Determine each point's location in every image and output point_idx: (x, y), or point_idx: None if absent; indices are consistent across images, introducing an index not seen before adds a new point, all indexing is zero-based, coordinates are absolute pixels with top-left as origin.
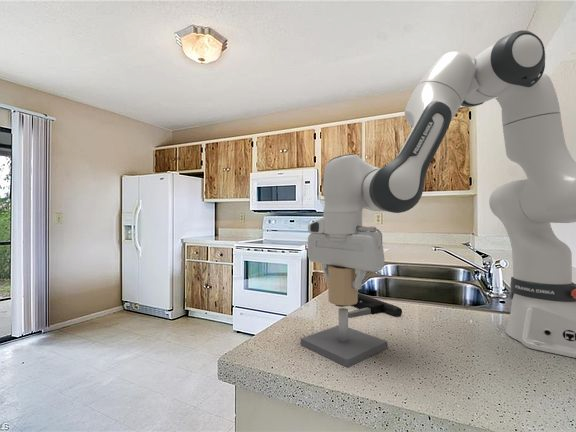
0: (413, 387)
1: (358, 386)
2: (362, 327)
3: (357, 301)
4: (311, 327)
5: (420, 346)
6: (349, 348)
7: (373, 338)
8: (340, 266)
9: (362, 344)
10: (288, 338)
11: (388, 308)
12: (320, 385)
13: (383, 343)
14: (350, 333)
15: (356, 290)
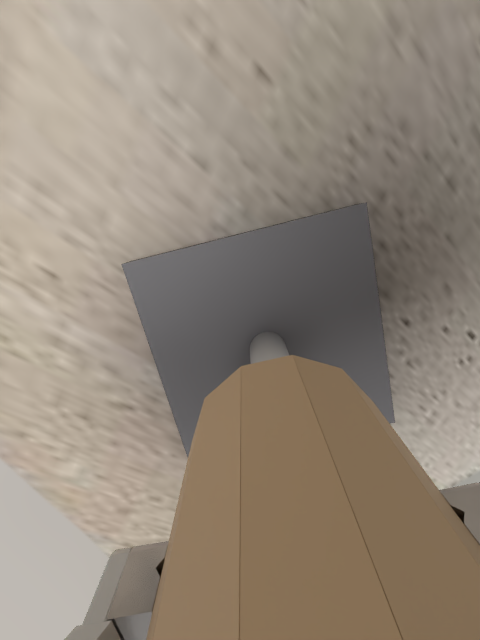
0: None
1: (469, 439)
2: (133, 142)
3: (344, 372)
4: (57, 347)
5: (423, 56)
6: None
7: (315, 236)
8: None
9: (336, 314)
10: (129, 458)
11: None
12: None
13: (369, 232)
14: (228, 288)
15: (416, 460)
